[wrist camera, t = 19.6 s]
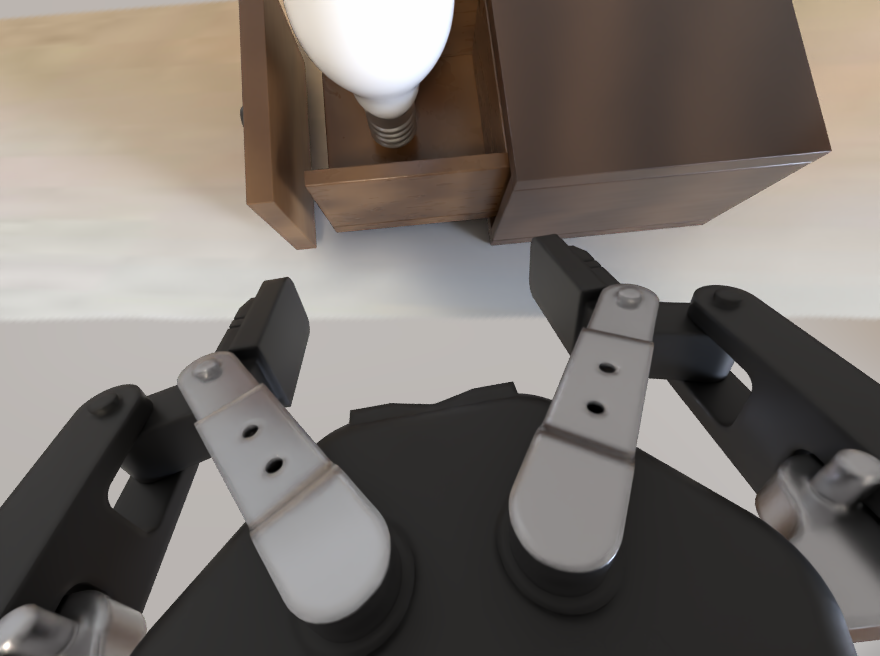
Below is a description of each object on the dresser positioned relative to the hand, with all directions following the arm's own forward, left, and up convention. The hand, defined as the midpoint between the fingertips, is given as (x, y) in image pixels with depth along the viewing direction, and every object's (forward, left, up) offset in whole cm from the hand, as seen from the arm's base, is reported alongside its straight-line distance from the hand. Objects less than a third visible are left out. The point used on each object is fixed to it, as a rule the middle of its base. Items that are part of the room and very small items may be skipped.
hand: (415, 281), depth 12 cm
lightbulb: (-5, -10, -8) cm, 14 cm away
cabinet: (-15, -4, -10) cm, 19 cm away
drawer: (-4, -11, -9) cm, 14 cm away
